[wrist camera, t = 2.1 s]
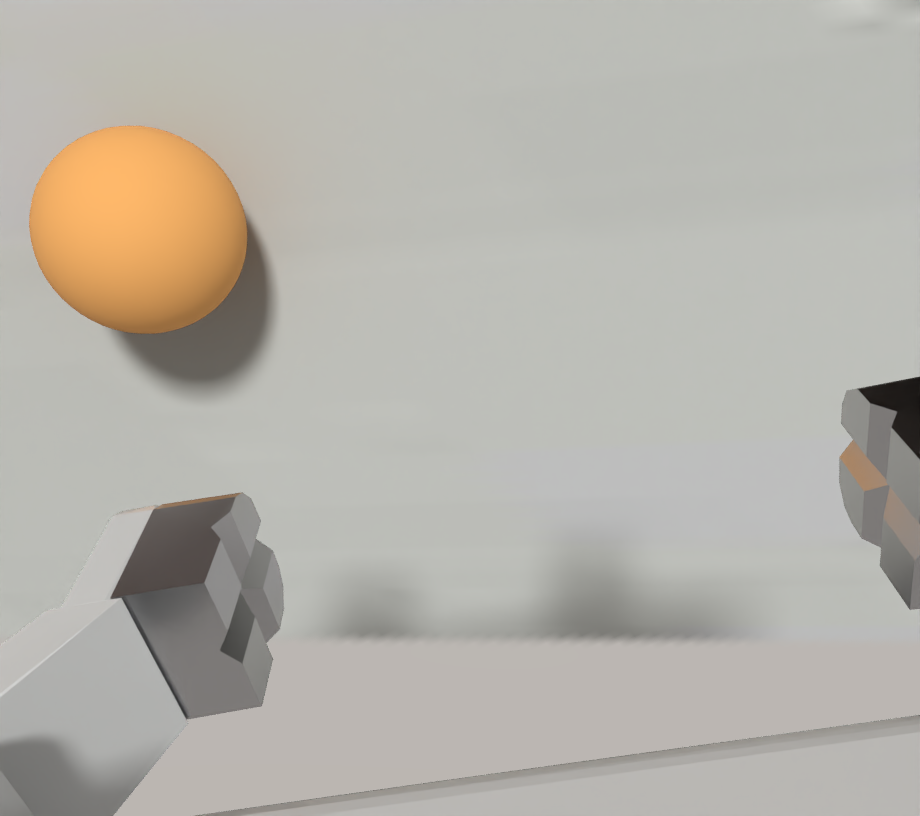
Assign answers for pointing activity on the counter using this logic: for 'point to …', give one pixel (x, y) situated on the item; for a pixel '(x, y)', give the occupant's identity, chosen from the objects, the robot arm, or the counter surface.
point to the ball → (138, 229)
